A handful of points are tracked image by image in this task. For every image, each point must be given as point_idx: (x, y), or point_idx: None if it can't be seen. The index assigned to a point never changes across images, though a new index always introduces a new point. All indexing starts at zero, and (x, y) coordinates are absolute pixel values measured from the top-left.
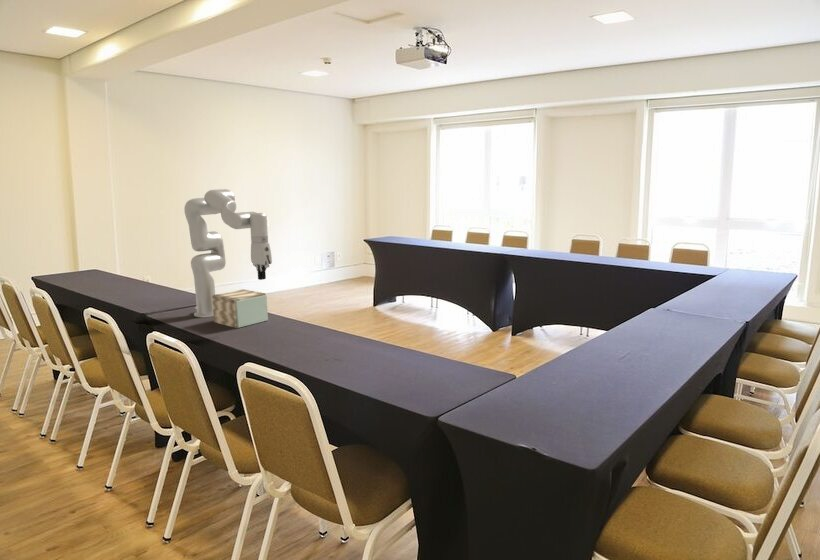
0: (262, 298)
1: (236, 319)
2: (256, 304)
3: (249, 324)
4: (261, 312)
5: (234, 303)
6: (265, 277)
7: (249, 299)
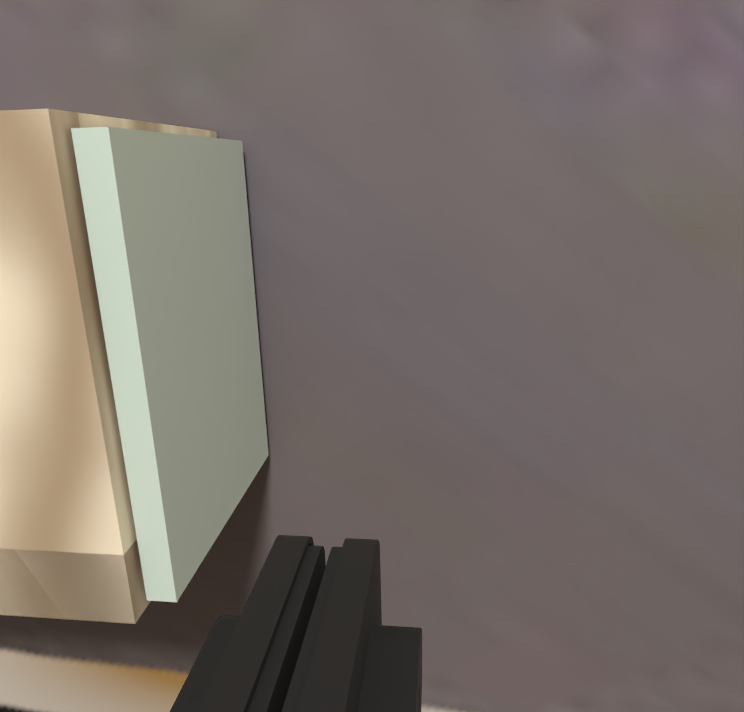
0: (137, 209)
1: None
2: (181, 306)
3: (258, 354)
4: (215, 224)
5: None
6: (371, 562)
7: (156, 431)
